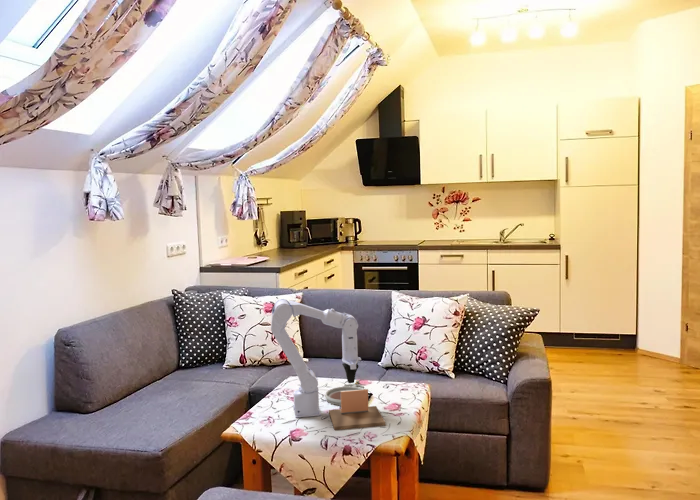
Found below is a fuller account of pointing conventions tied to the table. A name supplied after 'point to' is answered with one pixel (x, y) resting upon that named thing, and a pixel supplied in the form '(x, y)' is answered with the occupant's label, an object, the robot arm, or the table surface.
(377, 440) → the table surface
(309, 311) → the robot arm
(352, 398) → the tile
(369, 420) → the board
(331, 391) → the frying pan
